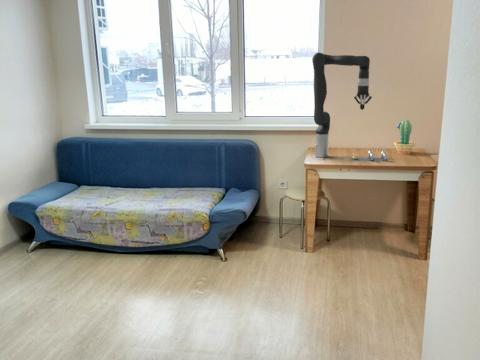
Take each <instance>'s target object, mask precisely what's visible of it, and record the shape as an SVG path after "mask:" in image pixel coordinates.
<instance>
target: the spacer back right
mask: <svg viewBox="0 0 480 360" xmlns="http://www.w3.org/2000/svg"><path fill="white" fill-rule="evenodd" d="M384 153H386V154H387V151H385V150H381V154H380V155H381V156H380V158H382V159H383V154H384Z"/></svg>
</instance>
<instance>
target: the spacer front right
mask: <svg viewBox="0 0 480 360" xmlns="http://www.w3.org/2000/svg"><path fill="white" fill-rule="evenodd" d="M388 157H389V153H387V152H386V153H384V154H383V161H382V162H386V161H387V162H388V159H389V158H388Z"/></svg>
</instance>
